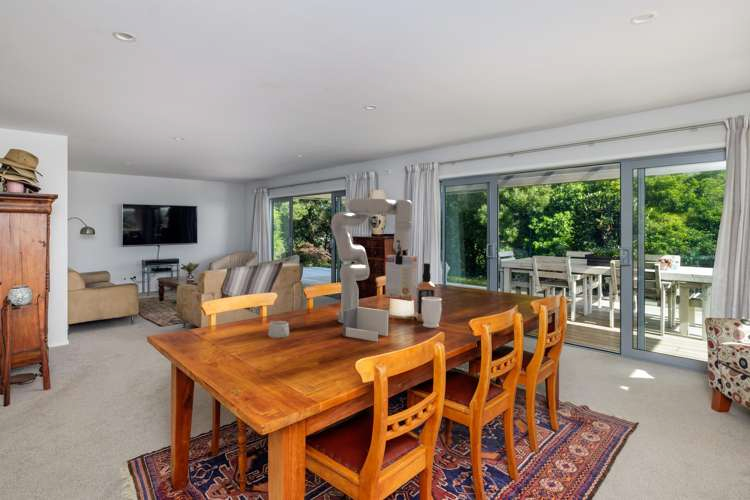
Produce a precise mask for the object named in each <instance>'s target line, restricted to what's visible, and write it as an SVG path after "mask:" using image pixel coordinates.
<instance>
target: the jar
mask: <svg viewBox="0 0 750 500" xmlns="http://www.w3.org/2000/svg"><path fill="white" fill-rule="evenodd" d="M422 301H423V302H422V308H421V311H422V319H423V321H422V322H423V324H422V326H423V327H424V328H428V329H437V328H439V327H440V325H439V323H440V321H441V315H442V303H441V302H442V298H441V297H437V296H434V297H423V298H422Z"/></svg>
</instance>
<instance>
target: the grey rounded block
mask: <svg viewBox="0 0 750 500" xmlns="http://www.w3.org/2000/svg"><path fill="white" fill-rule="evenodd" d="M267 334H268V335H267V336H269V337H270V338H273V339H283V338H287V337H289V336H290V326H289V321H288V322H287V321H285V320H278V321H277V320H276V321H271V322H270V323H269V325H268V332H267Z"/></svg>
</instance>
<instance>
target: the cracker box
mask: <svg viewBox="0 0 750 500" xmlns="http://www.w3.org/2000/svg"><path fill="white" fill-rule="evenodd" d="M385 256H386V258H385V259H386V260H385V286H384V287H385V288H384V298H385V299H392V300H400V301H407V302H412V301H416V298H417V274H418V273H417V272H418V256H416V255H415V256H414V255H413V256H412V255H408V256H404V255H402V265H399V264H395V262H396V255H395V254H387V255H385Z"/></svg>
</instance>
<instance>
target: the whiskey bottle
mask: <svg viewBox="0 0 750 500" xmlns="http://www.w3.org/2000/svg"><path fill="white" fill-rule="evenodd" d="M431 279H432V277H431V263H428V262H424V263H423V272H422V280H421V281H420V282H418V283H416V289H417V300H416V301H417V303H416V313H415V318H416V321H417V322H423V319H422V311H421V308H422V302H423V301H422V298H423V297H435V291H436V286H435V284H434V283H432V282H431Z"/></svg>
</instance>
